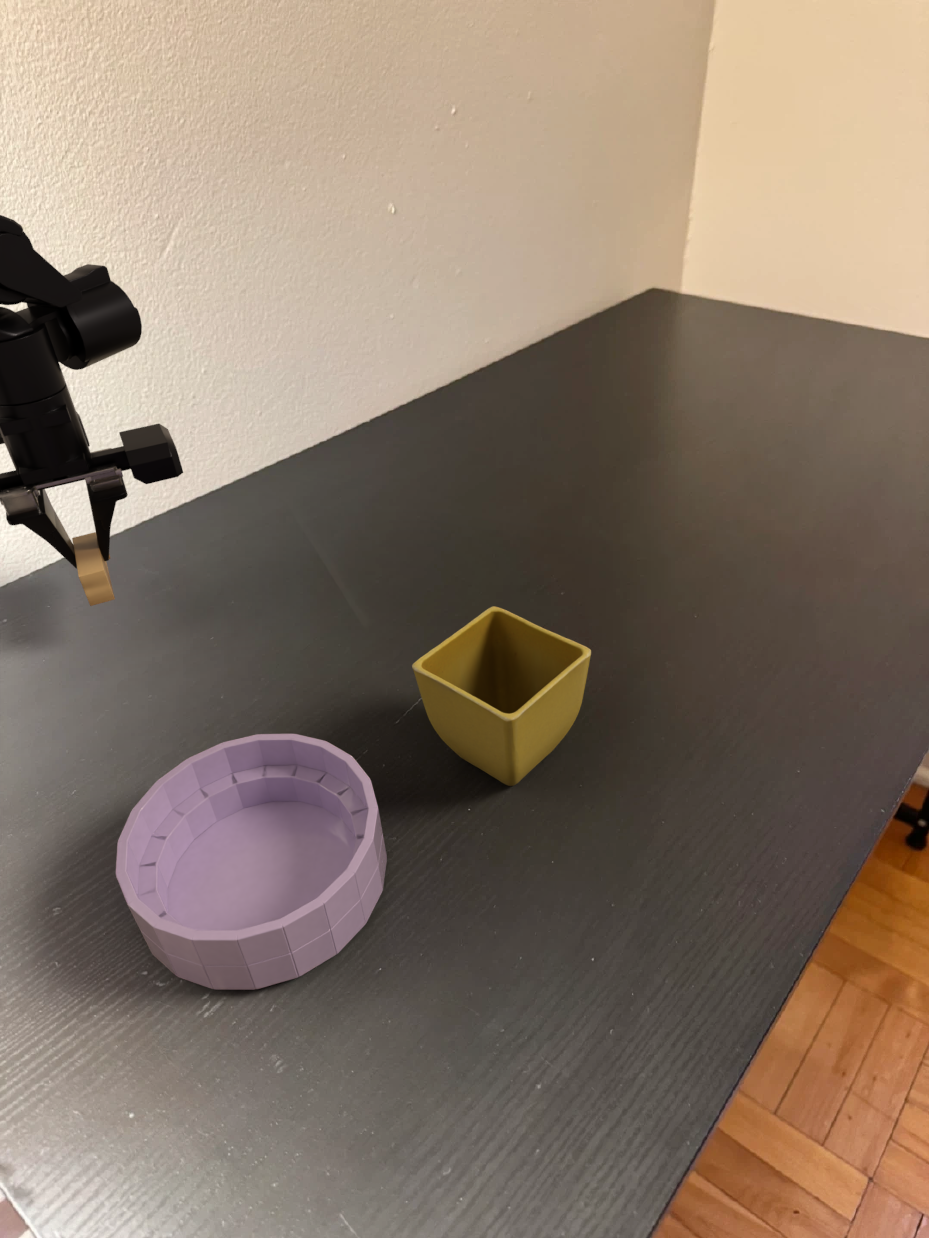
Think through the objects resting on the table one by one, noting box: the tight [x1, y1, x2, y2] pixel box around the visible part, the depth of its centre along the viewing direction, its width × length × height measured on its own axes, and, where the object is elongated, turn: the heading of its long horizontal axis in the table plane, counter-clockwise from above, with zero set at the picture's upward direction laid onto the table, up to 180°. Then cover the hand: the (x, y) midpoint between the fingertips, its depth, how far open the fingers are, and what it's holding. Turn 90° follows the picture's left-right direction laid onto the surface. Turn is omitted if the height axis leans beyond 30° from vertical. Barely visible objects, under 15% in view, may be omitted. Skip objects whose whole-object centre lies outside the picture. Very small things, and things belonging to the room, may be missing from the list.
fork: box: [71, 531, 116, 607], centre depth 74 cm, size 11×3×3 cm, turn 25°
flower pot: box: [411, 605, 592, 787], centre depth 58 cm, size 9×9×9 cm
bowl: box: [115, 733, 388, 991], centre depth 52 cm, size 15×15×6 cm
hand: (92, 562), depth 74 cm, fingers closed on fork, 2 cm apart
